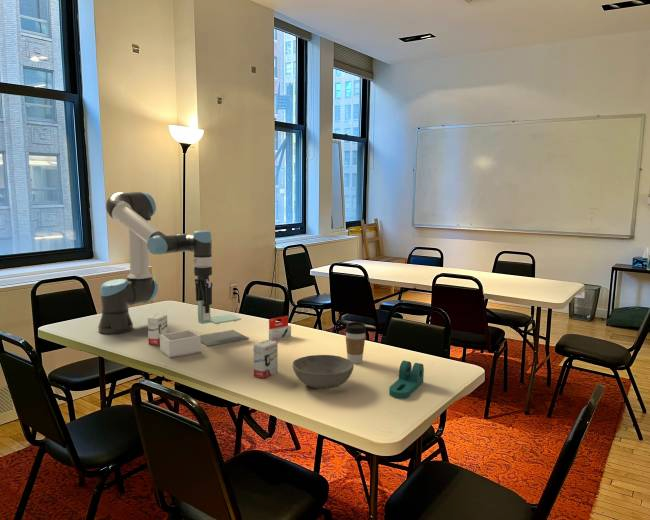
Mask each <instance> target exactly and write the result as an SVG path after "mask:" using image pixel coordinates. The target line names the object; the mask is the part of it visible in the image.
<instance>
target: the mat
mask: <svg viewBox="0 0 650 520" xmlns="http://www.w3.org/2000/svg"><path fill="white" fill-rule="evenodd" d="M199 335H200V334H199ZM249 339H250V337H249V336H247V335H244V334H243V333H240V332H238V331H236V330H234V329H231V330H224V331H217V332H212V333H207V334H201V335H200V341H201V344H202V345H205V346H206V347H211V346H212V347H214V346H219V345H224V344H228V343H234V342H238V341H239V342H240V341H244V340H249Z"/></svg>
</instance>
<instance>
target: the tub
mask: <svg viewBox="0 0 650 520" xmlns="http://www.w3.org/2000/svg"><path fill="white" fill-rule="evenodd" d="M201 344H202V343H201V341H200V334H198V333H197V332H194V330H191V329H187V330H180V331H174V332H168V333H166V334H160V344H159V349H160V350H159V351H160V353H162V354H163V355H165V356H166V357H168V358H169V359H172V358H178V357H184V356H188V355H194V354H199V353H201V349H202V348H201V346H202V345H201Z"/></svg>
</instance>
